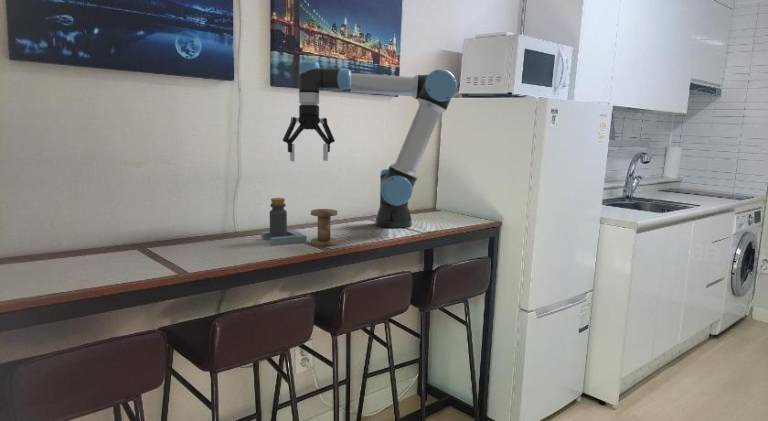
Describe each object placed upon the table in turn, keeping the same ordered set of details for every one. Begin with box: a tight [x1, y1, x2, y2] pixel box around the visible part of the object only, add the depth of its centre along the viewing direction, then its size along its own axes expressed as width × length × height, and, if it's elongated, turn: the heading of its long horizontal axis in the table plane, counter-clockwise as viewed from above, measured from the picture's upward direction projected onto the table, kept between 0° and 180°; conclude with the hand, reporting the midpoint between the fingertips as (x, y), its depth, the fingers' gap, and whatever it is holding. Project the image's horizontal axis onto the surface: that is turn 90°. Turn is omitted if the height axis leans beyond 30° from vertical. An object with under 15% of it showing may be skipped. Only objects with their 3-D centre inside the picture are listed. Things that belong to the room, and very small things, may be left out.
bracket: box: [260, 229, 308, 247], centre depth 191 cm, size 12×13×2 cm
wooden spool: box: [310, 208, 338, 247], centre depth 187 cm, size 9×9×11 cm
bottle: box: [269, 197, 288, 237], centre depth 189 cm, size 6×6×15 cm
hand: (309, 161), depth 208 cm, fingers open, 13 cm apart
